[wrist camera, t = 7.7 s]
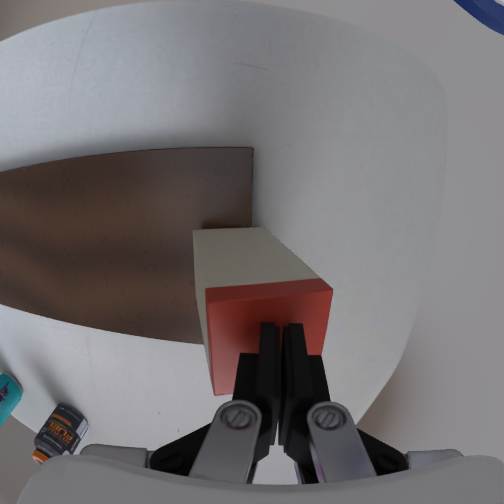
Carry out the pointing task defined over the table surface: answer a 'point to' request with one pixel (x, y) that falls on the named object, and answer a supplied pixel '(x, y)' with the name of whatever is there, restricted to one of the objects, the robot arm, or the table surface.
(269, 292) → the container
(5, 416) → the beverage can
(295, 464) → the robot arm
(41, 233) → the board
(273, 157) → the table surface
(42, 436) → the pill bottle
